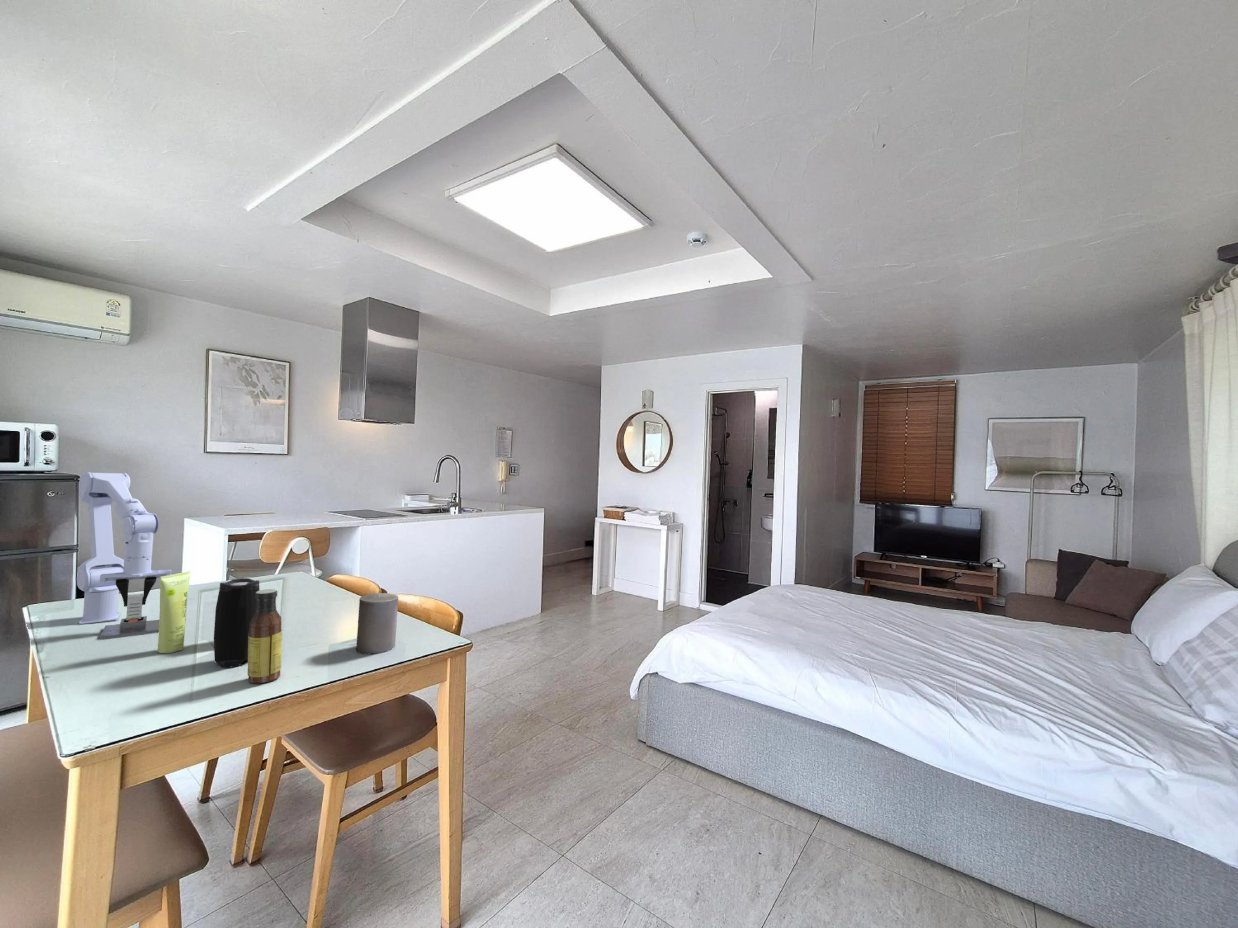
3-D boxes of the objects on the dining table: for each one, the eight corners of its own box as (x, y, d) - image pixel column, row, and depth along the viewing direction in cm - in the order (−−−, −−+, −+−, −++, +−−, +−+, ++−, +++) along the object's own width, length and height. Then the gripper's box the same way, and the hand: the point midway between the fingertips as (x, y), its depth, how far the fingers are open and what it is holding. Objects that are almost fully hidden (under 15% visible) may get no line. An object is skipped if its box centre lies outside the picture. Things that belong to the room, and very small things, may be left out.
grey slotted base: (105, 628, 143) (106, 615, 143) (162, 621, 151) (163, 610, 151) (100, 639, 134) (101, 626, 134) (161, 631, 142) (162, 619, 142)
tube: (181, 652, 127) (186, 574, 128) (154, 655, 124) (160, 576, 125) (185, 645, 132) (190, 570, 132) (159, 648, 129) (164, 572, 130)
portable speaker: (209, 671, 116) (214, 586, 117) (216, 658, 124) (220, 578, 125) (255, 665, 121) (259, 583, 121) (258, 653, 129) (262, 576, 129)
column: (126, 617, 143) (128, 594, 143) (141, 616, 145) (143, 593, 145) (125, 620, 140) (127, 597, 140) (141, 618, 142) (142, 595, 142)
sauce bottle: (275, 671, 118) (280, 586, 118) (284, 679, 114) (290, 590, 114) (241, 679, 112) (247, 590, 113) (250, 687, 108) (256, 594, 109)
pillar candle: (347, 649, 134) (351, 592, 134) (380, 639, 143) (383, 586, 143) (371, 656, 130) (375, 598, 130) (403, 646, 138) (407, 591, 139)
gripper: (100, 560, 135) (96, 611, 135) (172, 557, 145) (168, 604, 144) (103, 557, 141) (99, 605, 140) (172, 553, 150) (169, 599, 150)
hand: (134, 604), depth 143 cm, fingers closed on column, 3 cm apart
